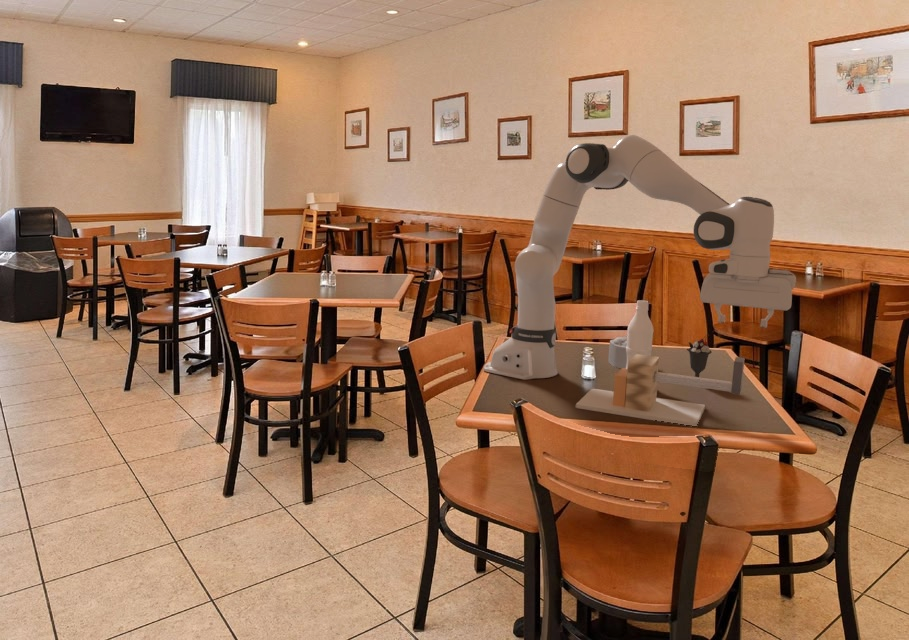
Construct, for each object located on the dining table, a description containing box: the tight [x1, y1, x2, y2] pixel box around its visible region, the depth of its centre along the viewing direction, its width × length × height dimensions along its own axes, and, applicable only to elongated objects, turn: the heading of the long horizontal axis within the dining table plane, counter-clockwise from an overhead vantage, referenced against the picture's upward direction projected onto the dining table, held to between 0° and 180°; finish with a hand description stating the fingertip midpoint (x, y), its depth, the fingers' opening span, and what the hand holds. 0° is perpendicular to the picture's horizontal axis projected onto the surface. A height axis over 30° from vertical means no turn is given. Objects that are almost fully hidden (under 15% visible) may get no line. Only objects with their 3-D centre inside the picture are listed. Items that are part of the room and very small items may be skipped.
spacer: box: [613, 368, 628, 407], centre depth 185 cm, size 3×8×8 cm, turn 154°
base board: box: [575, 388, 706, 427], centre depth 184 cm, size 30×16×1 cm, turn 64°
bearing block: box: [625, 354, 660, 412], centre depth 183 cm, size 6×10×12 cm, turn 154°
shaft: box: [654, 356, 745, 395], centre depth 177 cm, size 24×5×8 cm, turn 64°
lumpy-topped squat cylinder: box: [608, 336, 627, 370], centre depth 226 cm, size 10×13×9 cm
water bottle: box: [626, 299, 655, 369], centre depth 201 cm, size 7×7×25 cm
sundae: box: [686, 334, 712, 377], centre depth 206 cm, size 7×7×15 cm
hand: (742, 324), depth 170 cm, fingers open, 8 cm apart
